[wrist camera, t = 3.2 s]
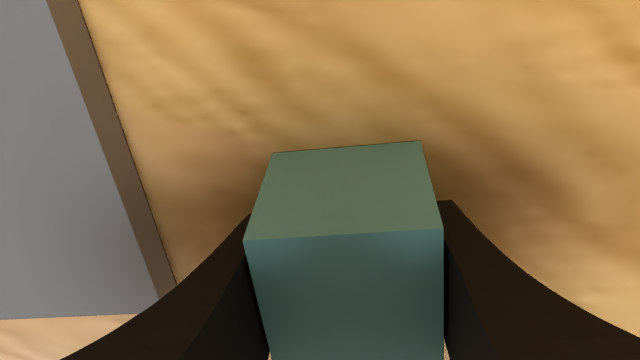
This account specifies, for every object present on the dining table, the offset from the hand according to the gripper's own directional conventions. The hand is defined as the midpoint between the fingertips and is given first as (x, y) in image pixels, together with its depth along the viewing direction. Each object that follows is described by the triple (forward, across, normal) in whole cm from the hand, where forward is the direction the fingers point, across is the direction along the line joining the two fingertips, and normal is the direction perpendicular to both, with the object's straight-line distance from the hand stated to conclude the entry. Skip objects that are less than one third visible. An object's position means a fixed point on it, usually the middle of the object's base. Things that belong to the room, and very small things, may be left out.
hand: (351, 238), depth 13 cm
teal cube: (+1, 0, 0) cm, 1 cm away
